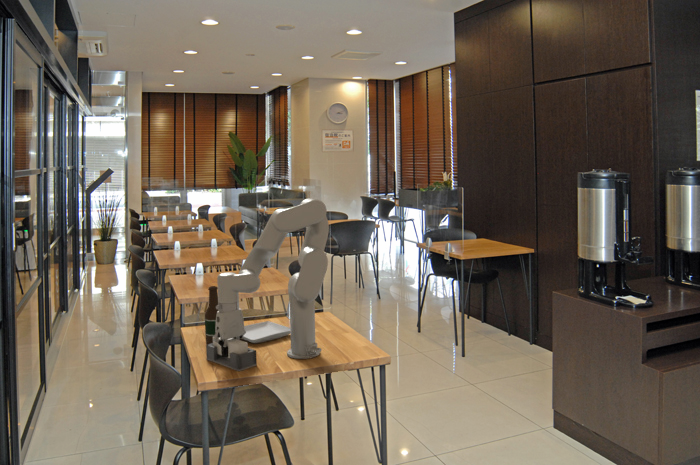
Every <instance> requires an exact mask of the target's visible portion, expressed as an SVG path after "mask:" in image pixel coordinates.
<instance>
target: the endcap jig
mask: <svg viewBox="0 0 700 465" xmlns="http://www.w3.org/2000/svg"><path fill="white" fill-rule="evenodd" d="M205 353H206V360H207V361H210V362H212V363H215V364H219V365H221V366H223V367H226V368H229V369H232V370H234V371H237V372H240V371H244V370H247V369H250V368H253V367H256V366H257V364H258V363H257V362H258V361H257V350H256V349H253V348H250V347H248V352H245V353H242V354H237V353H234V352H232V353H230V358H228V357H224V356H222V355H219V354H217V347H216V346H213V343H212V344H208V345H206V344H205Z"/></svg>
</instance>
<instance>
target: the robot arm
mask: <svg viewBox="0 0 700 465" xmlns="http://www.w3.org/2000/svg"><path fill="white" fill-rule="evenodd" d="M327 213H328V212H327V206H326V205H325V203H324V202H323V201H322V200H320V199H316V198H311V197H310V198H305V199H303V200H302V201H300V204H298V205H295V206H292V207H288V208H277V209H275V210H273V212H272V214H271V215H270V217H269V219H268V221H267V223H266V225H265V226H264V229H263V230H262V232H261V234H260V236H259V237H258V239H257V241H256V243H255V244H254V245H253V247H252V249H251V250H250V252H249V253H248V255H247V257H246V258H245V260H244V262H243V264H242V266H241V267H240V270H239V271H238V273H236V272H229V271H228V272H222V273H219V274H218V275H217V279H216V280H217V281H216V282H217V288H218V289H217V294H218V306H216V309H218V311H217V315H216V334H215V336H214V338H213V341H215V342H217V343H218V344H219V345H220V346H221V353H222V356H224V357H228V347H227V339H230V338H234V339H237V340H241V341H242V340H243V339H242V337H243V336H244V335H245V333H246V331H245V330H244V326H245V322H244V321H245V320H244V315H243V311H242V308H240V293H241V294H242V293H244V294H253V293H255V292H257V291H258V290H259V289H260V286H261V279H260V277H259V276H260V274H261V273H262V271H263V269H264V267H265V265H266V264H268V261H270V260H271V259H272V258H275V256H276V255H277V254H278V252H279V251H280V249H281V246H282V245H283V242H284V241H285V240H286V237H287V236H288V234H289V233H292V232H295V231H298V230H301V229H306V230H305V233H304V234H305V235H304V238H303V242H302V245H301V248H300V250H299V254H298V257H297V261H298V265H299V266H300V269H299V272H295V273H294V274H293V275H291V277H290V278H289V280H288V283H287V293H288V301H289V326H290V327H289V328H290V334H289V335H290V348H289V349H287V351H286V355H287V356H288V357H289V358H291V359H296V360H298V359H299V360H303V359H307V360H308V359H313V358H315V357H317V356H319V355H320V353H321V352H322V348H321V347H318V343H317V342H316V309H315V308H316V307H315V306H316V305H315V300H316V299H317V298H318V296H319V294H320V291H321V289H322V286H323V283H324V279H325V276H326V273H327V271H328V265H329V264H328V263H329V259H328V255H327V254H326V253H325V248H326V245H327V241H328V237H329V232H330V226H329V221H328V217H327ZM219 338H220V340H219ZM223 341H224V342H223Z"/></svg>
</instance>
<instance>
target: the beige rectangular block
mask: <svg viewBox="0 0 700 465" xmlns="http://www.w3.org/2000/svg"><path fill="white" fill-rule="evenodd" d="M213 338H214V337H213ZM219 340H220V338H219ZM223 342H224V341H223ZM213 346H216V347H217V354H219V355H222V353H221V346H220V345H219V344H218V343H217V342H215V341H213ZM248 346H249V345H248V341H245V340H242V339H241V340H237V339H234V338H230V339H227V347H228V358H230V353H232V352H234V353H237V354H242V353H245V352H248V348H249V347H248Z"/></svg>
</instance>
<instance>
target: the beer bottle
mask: <svg viewBox="0 0 700 465" xmlns="http://www.w3.org/2000/svg"><path fill="white" fill-rule="evenodd" d="M216 306H218V286H216V285H212V286H209V287H208V306H207V308H206V311H205V313H204V332H205V346H206V345H208V344H212V343H213V337H214V336H215V334H216V315H217V311H218V309H216Z"/></svg>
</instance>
